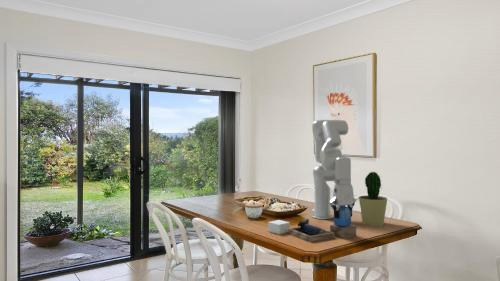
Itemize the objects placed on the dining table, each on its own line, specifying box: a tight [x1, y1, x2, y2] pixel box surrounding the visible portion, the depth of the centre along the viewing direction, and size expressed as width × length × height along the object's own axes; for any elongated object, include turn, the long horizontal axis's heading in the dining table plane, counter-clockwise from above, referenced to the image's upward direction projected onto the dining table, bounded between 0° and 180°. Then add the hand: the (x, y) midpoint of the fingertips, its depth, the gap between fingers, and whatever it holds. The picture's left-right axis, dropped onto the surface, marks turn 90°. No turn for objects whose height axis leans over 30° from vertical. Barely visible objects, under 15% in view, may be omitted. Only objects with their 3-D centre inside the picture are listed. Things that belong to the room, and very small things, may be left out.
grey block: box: [267, 219, 291, 235], centre depth 191 cm, size 8×8×5 cm
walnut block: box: [329, 224, 357, 240], centre depth 182 cm, size 9×9×5 cm
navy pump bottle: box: [297, 218, 323, 236], centre depth 185 cm, size 9×8×12 cm
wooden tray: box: [287, 226, 336, 243], centre depth 183 cm, size 18×15×2 cm
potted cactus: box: [358, 171, 388, 227], centre depth 208 cm, size 15×15×30 cm
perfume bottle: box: [333, 205, 352, 226], centre depth 183 cm, size 6×6×12 cm
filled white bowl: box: [244, 201, 263, 219], centre depth 226 cm, size 11×11×9 cm
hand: (343, 216), depth 182 cm, fingers closed on perfume bottle, 8 cm apart
